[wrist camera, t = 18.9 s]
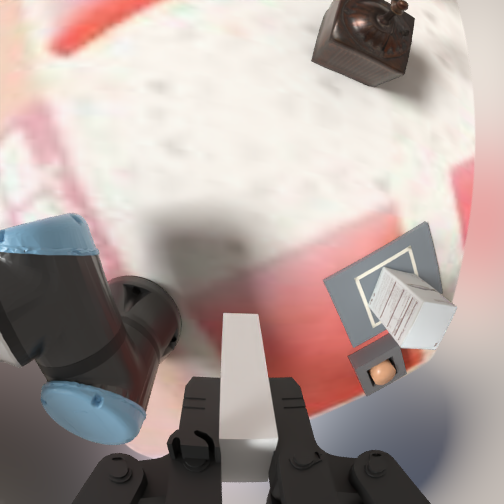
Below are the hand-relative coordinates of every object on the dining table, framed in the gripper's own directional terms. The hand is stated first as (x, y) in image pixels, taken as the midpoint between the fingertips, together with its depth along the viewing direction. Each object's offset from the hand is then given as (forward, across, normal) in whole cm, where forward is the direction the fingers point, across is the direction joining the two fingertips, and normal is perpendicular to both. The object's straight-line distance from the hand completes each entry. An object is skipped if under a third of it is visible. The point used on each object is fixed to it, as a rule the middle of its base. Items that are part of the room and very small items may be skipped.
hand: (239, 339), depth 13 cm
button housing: (+29, +28, -26) cm, 48 cm away
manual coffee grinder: (+30, +16, +29) cm, 44 cm away
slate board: (+29, +26, -11) cm, 41 cm away
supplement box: (+29, +26, -11) cm, 40 cm away
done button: (+28, +28, -26) cm, 47 cm away
